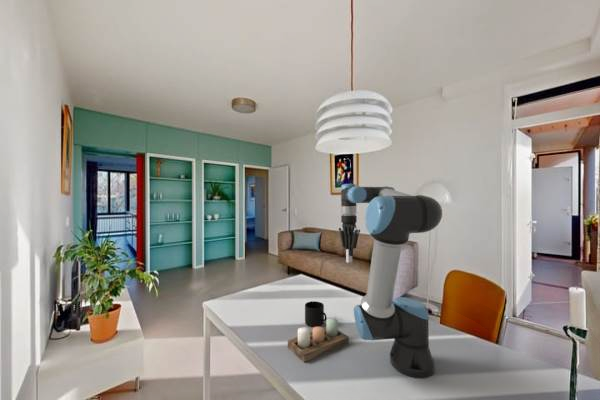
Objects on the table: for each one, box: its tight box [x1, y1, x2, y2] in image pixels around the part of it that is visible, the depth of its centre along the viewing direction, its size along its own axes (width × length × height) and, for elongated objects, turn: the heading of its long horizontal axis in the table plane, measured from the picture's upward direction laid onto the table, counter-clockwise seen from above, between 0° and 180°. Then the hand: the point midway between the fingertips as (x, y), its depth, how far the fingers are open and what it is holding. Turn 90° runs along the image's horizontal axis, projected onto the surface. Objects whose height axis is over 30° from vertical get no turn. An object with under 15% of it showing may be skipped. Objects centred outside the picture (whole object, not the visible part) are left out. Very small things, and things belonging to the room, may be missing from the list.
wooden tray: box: [287, 326, 350, 364], centre depth 106 cm, size 12×23×3 cm, turn 123°
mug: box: [304, 300, 328, 328], centre depth 126 cm, size 9×12×9 cm
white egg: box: [297, 326, 311, 350], centre depth 102 cm, size 5×5×6 cm
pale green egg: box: [325, 317, 339, 338], centre depth 111 cm, size 5×5×6 cm
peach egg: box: [312, 326, 325, 344], centre depth 106 cm, size 5×5×6 cm
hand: (349, 262), depth 126 cm, fingers closed
